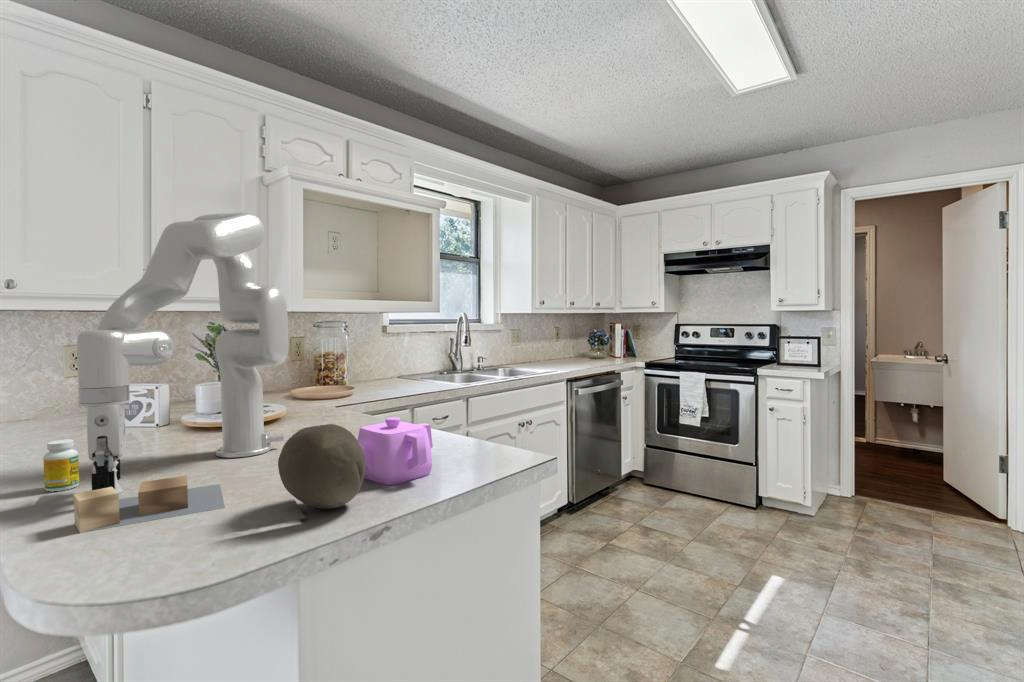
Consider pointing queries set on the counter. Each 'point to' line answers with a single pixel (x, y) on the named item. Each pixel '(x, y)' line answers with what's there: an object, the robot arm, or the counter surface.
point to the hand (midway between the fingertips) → (107, 487)
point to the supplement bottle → (61, 466)
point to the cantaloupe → (322, 466)
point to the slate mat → (197, 502)
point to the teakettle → (396, 451)
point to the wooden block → (163, 495)
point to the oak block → (96, 509)
